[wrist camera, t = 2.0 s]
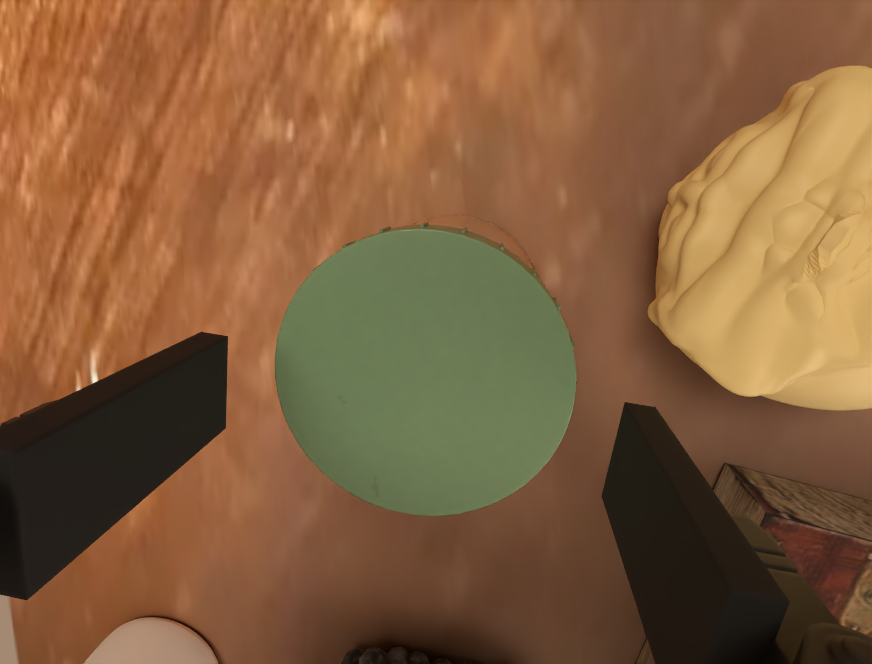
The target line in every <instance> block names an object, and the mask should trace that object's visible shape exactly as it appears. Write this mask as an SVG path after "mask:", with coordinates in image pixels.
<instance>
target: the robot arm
mask: <svg viewBox="0 0 872 664" xmlns="http://www.w3.org/2000/svg"><path fill="white" fill-rule="evenodd" d="M227 352H228V336H223V335H216V334H210V333H204V332H200V333H198V334H196V335H194V336H192V337H190V338H187V339H185V340H183V341H181V342H179V343H177V344H175V345H173V346H171V347H169V348H167V349H164V350H162V351H160V352H158V353H156V354H154V355H152V356H150V357H148V358H146V359H143V360H141V361H139V362H137V363H135V364H133V365H131V366H129V367H127V368H125V369H123V370H120V371H118V372H116V373H114V374H112V375H110V376H108V377H106V378H104V379H102V380H99V381H97V382H95V383H93V384H91V385H89V386H87V387H85V388H83V389H81V390H79V391H76V392H74V393H72V394H70V395H68V396H66V397H64V398H62V399H60V400H56V401H52V402H49V403H45V404H42V405H40V406H38V407H36V408H33V409H31V410H29V411H27V412H25V413H23V414H21V415H20V417H14V418H12V419H10V420H8V421H6V422H4V423H2V424H1V426H0V594H1V595H5V596H10V597H14V598H19V599H24V600H28V599H29V598H30V597H31V596H32V595H33V594H35V593H36V592H37V591H38V590H39V589H40V588H42V587H43V586H44V585H45V584H46V583H47V582H48V581H50V580H51V579H52V578H53V577H54V576H55V575H57V574H58V573H59V572H60V571H61V570H62V569H64V568H65V567H66V566H67V565H68V564H69V563H70V562H72V561H73V560H74V559H75V558H76V557H77V556H79V555H80V554H81V553H82V552H83V551H84V550H85V549H87V548H88V547H89V546H90V545H91V544H92V543H94V542H95V541H96V540H97V539H98V538H99V537H100V536H102V535H103V534H104V533H105V532H106V531H107V530H109V529H110V528H111V527H112V526H113V525H114V524H115V523H117V522H118V521H119V520H120V519H121V518H122V517H124V516H125V515H126V514H127V513H128V512H129V511H130V510H132V509H133V508H134V507H135V506H136V505H137V504H139V503H140V502H141V501H142V500H143V499H144V498H146V497H147V496H148V495H149V494H150V493H151V492H152V491H154V490H155V489H156V488H157V487H158V486H159V485H161V484H162V483H163V482H164V481H165V480H166V479H167V478H169V477H170V476H171V475H172V474H173V473H174V472H176V471H177V470H178V469H179V468H180V467H181V466H182V465H184V464H185V463H186V462H187V461H188V460H189V459H191V458H192V457H193V456H194V455H195V454H196V453H197V452H199V451H200V450H201V449H202V448H203V447H204V446H206V445H207V444H208V443H209V442H210V441H211V440H212V439H214V438H215V437H216V436H217V435H218V434H219V433H221V432H222V431H223V430H224V429H225V428H226V395H227ZM602 499H603V502H604V505H605V508H606V511H607V514H608V517H609V520H610V524H611V527H612V530H613V533H614V536H615V539H616V542H617V546H618V549H619V552H620V555H621V558H622V561H623V564H624V568H625V571H626V574H627V577H628V580H629V583H630V586H631V589H632V593H633V596H634V599H635V602H636V605H637V608H638V611H639V615H640V618H641V621H642V624H643V627H644V630H645V633H646V636H647V640H648V643H649V646H650V649H651V652H652V655H653V658H654V662H655V664H872V638H870V637H868V636H867V635H865V634H863V633H860V632H858V631H855V630H853V629H850V628H848V627H845V626H842V625H840V624H839V623H838V621H837V620H836V619H835V617H834V616H833V615H832V614H831V612H830V611H829V610H828V608H827V607H826V606H825V604H824V603H823V602H822V601H821V599H820V598H819V597H818V595H817V594H816V593H815V591H814V590H813V589H812V588H811V586H810V585H809V584H808V582H807V581H806V580H805V578H804V577H803V576H802V575H801V574H798V569H797V568H796V567H795V565H794V564H793V563H792V562H791V560H790V559H789V558H787V557H785V553H784V551H783V550H782V549H781V547H780V546H779V545H778V543H777V542H776V541H775V540H774V538H773V537H772V536H771V534H769V533H768V532H767V531H765V530H764V529H763V528H762V527H760V526H759V525H758V524H757V523H755V522H754V521H753V520H751V519H750V518H749V517H748V516H744V515H738V514H732V513H728V511H727V510H726V509H725V507H724V506H723V504H722V503H721V501H720V500H719V498H718V497H717V496H716V494H715V493H714V491H713V490H712V488H711V487H710V485H709V484H708V483H707V481H706V480H705V478H704V477H703V475H702V474H701V472H700V471H699V470H698V468H697V467H696V465H695V464H694V462H693V461H692V459H691V458H690V457H689V455H688V454H687V452H686V451H685V449H684V448H683V446H682V445H681V444H680V442H679V441H678V439H677V438H676V436H675V435H674V433H673V432H672V431H671V429H670V428H669V426H668V425H667V423H666V422H665V420H664V419H663V418H662V416H661V415H660V413H659V412H658V410H657V409H656V407H651V406H645V405H639V404H633V403H627V402H625V404H624V408H623V412H622V416H621V420H620V424H619V428H618V432H617V436H616V440H615V444H614V448H613V452H612V456H611V460H610V464H609V468H608V472H607V476H606V480H605V485H604V489H603V493H602Z"/></svg>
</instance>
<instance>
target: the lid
mask: <svg viewBox="0 0 872 664" xmlns="http://www.w3.org/2000/svg"><path fill="white" fill-rule="evenodd" d="M467 229H468V228H467V227H464V228H463V229H460V228H455V227H450V226H444V225H430V224H429V222H424V223H422V224H420V225H408V226H403V227H398V228H393V229H391V227H386V228H383V229H381V230H379V231H380V233H377V234H374V235H371V236H369V237H366V238H363V239H361V240H358V241H353V242H351V243H348V244H345V245H343V248H342V249H341V250H339V251H338V252H336V253H335V254H333V255H332V256H331V257H329V258H328V259H326V260H325V261H324V262H323V263H322V264H321V265H319V266H318V267H317V268H315V269H314V270H313V272H312V273H311V274H310V275H309V276H308V278H307V279H306V280H305V281H304V283H303V284H302V285H301V286H300V288H299V289H298V290H297V292H296V294H295V296H294V297H293V299H292V301H291V302H290V304H289V306H288V308H287V311H286V313H285V316H284V318H283V320H282V323H281V327H280V331H279V335H278V338H277V345H276V353H275V379H276V386H277V392H278V397H279V401H280V404H281V408H282V411H283V414H284V416H285V419H286V421H287V423H288V426H289V428H290V430H291V432H292V433H293V435H294V437H295V439H296V440H297V442H298V444H299V445H300V447H301V448H302V449H303V451H304V452H305V453H306V455H307V456H308V457H309V459H310V460H311V461H312V462H313V463H314V464H315V465H316V466H317V467H318V468H319V469H320V470H321V471H322V472H323V473H324V474H325V475H326V476H327V477H329V478H330V479H331V480H332V481H333V482H335V483H336V484H337V485H339V486H340V487H342V488H343V489H345V490H346V491H348V492H349V493H351V494H353V495H355V496H357V497H359V498H361V499H362V500H364V501H366V502H368V503H371V504H374V505H377V506H379V507H382V508H385V509H388V510H392V511H396V512H401V513H406V514H413V515H421V516H443V515H452V514H460V513H464V512H469V511H473V510H477V509H480V508H482V507H485V506H488V505H491V504H493V503H495V502H497V501H499V500H501V499H503V498H505V497H507V496H509V495H511V494H512V493H514V492H515V491H517V490H518V489H519V488H521V487H522V486H524V485H525V484H526V483H527V482H528V481H530V480H531V479H532V478H533V477H534V476H535V475H536V474H537V473H538V472H539V471H540V470H541V469H542V468H543V467H544V465H545V464H546V463H547V462H548V461H549V460H550V458H551V457H552V455H553V454H554V452H555V451H556V449H557V447H558V446H559V444H560V443H561V440H562V438H563V436H564V434H565V432H566V429H567V427H568V425H569V421H570V418H571V414H572V411H573V408H574V401H575V394H576V385H577V381H576V364H575V357H574V350H573V347H574V343H573V341H572V338H571V336H570V334H569V332H568V330H567V327H566V325H565V323H564V321H563V318H562V316H561V314H560V312H559V309H561V307H560V305H559V303H558V301H557V299H556V298H554V299H553V298H552V296H551V295H550V293H549V291H548V290H547V288H546V287H545V285H544V284H543V282H542V281H541V280H540V279H539V278H538V276H537V273H536V271H535V269H534V268H533V267H531V268H530V267H529V266H527V265H526V264H525V263H524V262H523V261H522V260H521V259H520V258H519V257H518V256H516V255H515V254H513V253H512V252H511V251H509V250H508V249H506V248H505V247H504V244H503V243H502V242H501V244H498V243H496V242H494V241H492V240H490V239H488V238H486V237H485V236H482V235H479V234H476V233H473V232H471V231H468V230H467Z"/></svg>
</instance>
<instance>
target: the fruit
mask: <svg viewBox="0 0 872 664" xmlns="http://www.w3.org/2000/svg"><path fill="white" fill-rule="evenodd" d="M341 664H430V663H429V660H428V658H427V657H426V656H425V655H424V654H423V653H421V652H417V651H416V652H413V653H411V654H410V653H409V651H408V650H407V649H405V648H403V647H402V646H401V647H392V649H391V650H390V651H389V652H388V653H387V654H386V652H384V651H383V650H381V649H379V648H378V647H374V648H368V649H367V650H366V651H365V650H362V649H358V648H356V649H353V650H351V651H348V652H347V654H346V655H345V657H344V659H343V661H342V663H341ZM432 664H451V663H450V662H449V661H448V660H447V659H446V658H437V659H436V660H435V661H434V662H433V663H432ZM462 664H475V663H474V662H464V663H462Z"/></svg>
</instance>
